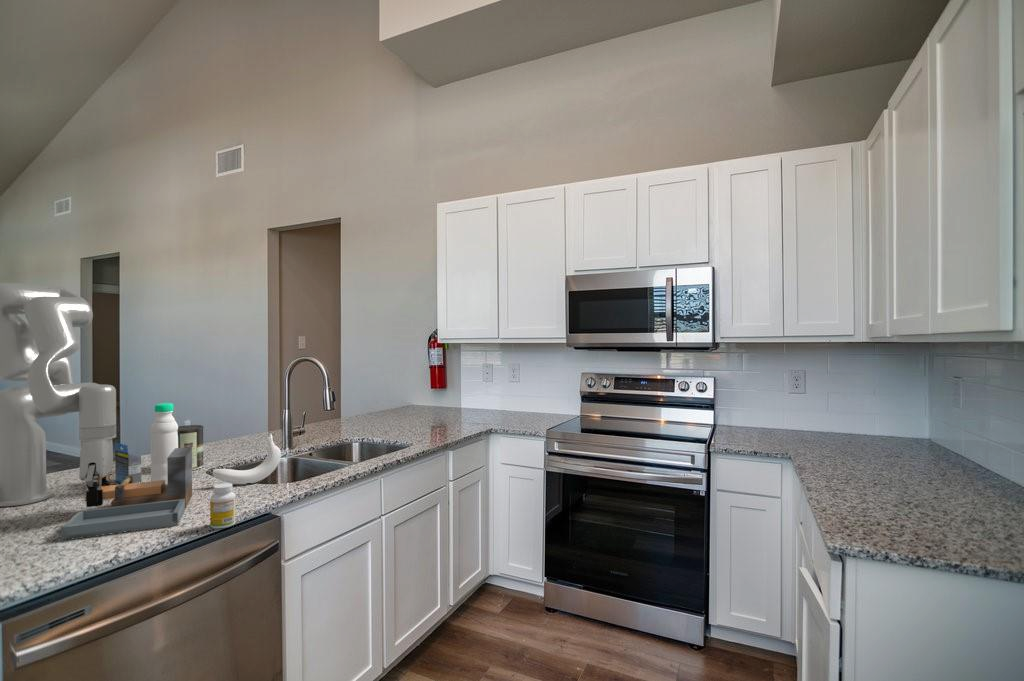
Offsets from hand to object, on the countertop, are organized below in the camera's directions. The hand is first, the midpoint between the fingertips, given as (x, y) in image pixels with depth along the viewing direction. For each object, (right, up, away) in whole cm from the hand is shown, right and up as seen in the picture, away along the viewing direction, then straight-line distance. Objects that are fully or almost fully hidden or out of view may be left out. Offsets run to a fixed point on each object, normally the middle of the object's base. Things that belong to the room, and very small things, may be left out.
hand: (98, 501), depth 133 cm
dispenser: (+11, -3, +5) cm, 12 cm away
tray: (+14, -3, -8) cm, 16 cm away
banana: (+25, -3, +26) cm, 37 cm away
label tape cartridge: (-13, -3, +27) cm, 30 cm away
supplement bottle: (+37, -3, -8) cm, 38 cm away
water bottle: (+1, -3, +24) cm, 24 cm away
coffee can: (-5, -2, +43) cm, 43 cm away
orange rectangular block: (+5, +1, +3) cm, 6 cm away
